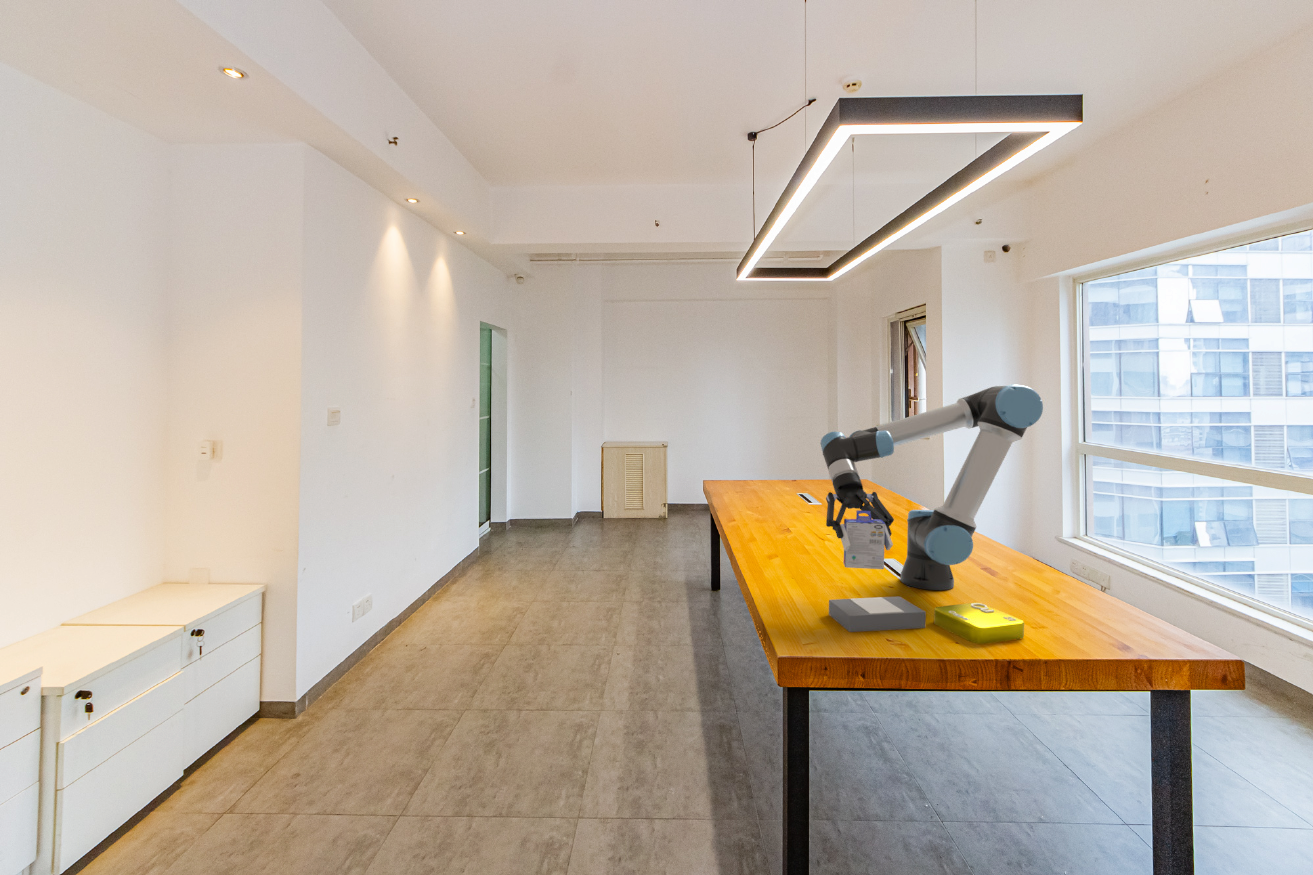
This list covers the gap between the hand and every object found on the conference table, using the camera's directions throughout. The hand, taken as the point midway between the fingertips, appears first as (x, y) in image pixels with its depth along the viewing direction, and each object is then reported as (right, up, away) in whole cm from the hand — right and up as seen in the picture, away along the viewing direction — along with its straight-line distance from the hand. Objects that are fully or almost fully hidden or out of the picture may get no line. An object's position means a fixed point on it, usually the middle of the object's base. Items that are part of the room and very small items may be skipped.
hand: (868, 547), depth 150 cm
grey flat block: (+2, -19, 0) cm, 19 cm away
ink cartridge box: (0, -6, +3) cm, 7 cm away
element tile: (+25, -20, -6) cm, 32 cm away
